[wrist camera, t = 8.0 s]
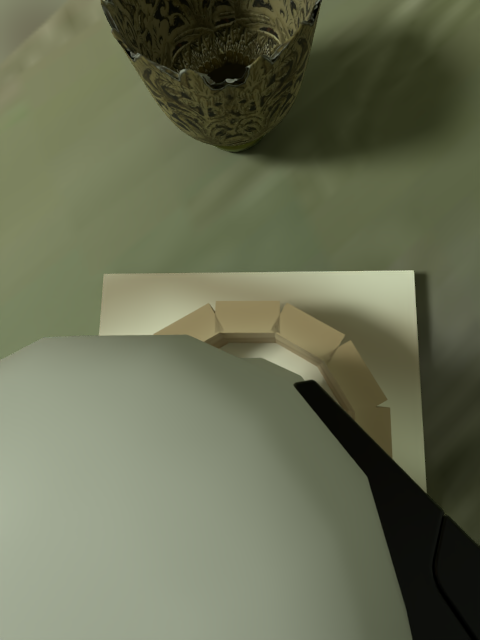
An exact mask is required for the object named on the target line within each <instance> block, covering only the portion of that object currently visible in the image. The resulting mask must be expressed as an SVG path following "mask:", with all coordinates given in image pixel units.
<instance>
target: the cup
mask: <svg viewBox="0 0 480 640" xmlns="http://www.w3.org/2000/svg"><path fill="white" fill-rule="evenodd" d="M321 2H322V0H105V1H103V0H101V5H102V8H103V11H104V13H105V16H106V18H107V20H108V22H109V24H110V26H111V28H112V29H111V32H112V34H113V36H114V37H115V39H116V40H117V41H118V42H119V44H120V45H121V47H122V48H123V50H124V51H125V53H126V54H127V56H128V58H129V59H130V61H131V63H132V64H133V66H134V67H135V69H136V71H137V72H138V74H139V76H140V77H141V79H142V80H143V82H144V84H145V85H146V87H147V88H148V90H149V92H150V93H151V95H152V96H153V98H154V99H155V101H156V102H157V104H158V105H159V106H160V108H161V109H162V110H163V112H164V113H165V114H166V115H167V117H168V118H169V119H170V120H171V121H172V122H173V123H174V124H175V125H176V126H177V127H178V128H179V129H180V130H182V131H183V132H184V133H186V134H187V135H189V136H191V137H192V138H194V139H196V140H198V141H201V142H203V143H207V144H211V145H214V146H215V147H217V148H219V149H221V150H224V151H230V152H237V151H243V150H246V149H249V148H251V147H252V146H254V145H255V144H257V143H258V142H259V141H260V140H261V139H262V138H263V136H264V135H265V134H267V133H268V132H270V131H271V130H272V129H273V128H274V127H276V126H277V125H278V124H279V123H280V121H281V120H282V119H283V118H284V117H285V115H286V114H287V113H288V111H289V110H290V108H291V106H292V105H293V103H294V101H295V99H296V96H297V94H298V92H299V89H300V87H301V84H302V81H303V77H304V74H305V70H306V66H307V63H308V59H309V54H310V50H311V46H312V41H313V37H314V33H315V28H316V24H317V19H318V14H319V10H320V5H321V4H320V3H321Z"/></svg>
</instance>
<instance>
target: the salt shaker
mask: <svg viewBox="0 0 480 640" xmlns="http://www.w3.org/2000/svg"><path fill="white" fill-rule="evenodd" d="M299 381H305V380H304V379H303V378H302V376H301V375H298V374H296V373H294V372H292V371H290V370H287V369H285V368H283V367H281V366H279V365H277V364H274V363H272V362H270V361H268V360H266V359H263V358H238V357H236V356H234V355H232V354H229V353H227V352H225V351H223V350H221V349H218V348H216V347H214V346H212V345H209V344H207V343H205V342H203V341H201V340H198V339H196V338H194V337H192V336H189V335H107V336H65V337H43V338H41V339H40V340H38V341H36V342H34V343H32V344H30V345H28V346H26V347H24V348H22V349H20V350H18V351H17V352H15V353H13V354H11V355H9V356H7V357H5V358H3V359H1V360H0V640H412V635H411V630H410V625H409V621H408V616H407V611H406V607H405V604H404V600H403V597H402V594H401V590H400V587H399V583H398V580H397V577H396V573H395V570H394V566H393V563H392V560H391V556H390V553H389V549H388V546H387V543H386V539H385V536H384V532H383V529H382V526H381V522H380V519H379V515H378V512H377V509H376V505H375V502H374V498H373V495H372V492H371V488H370V485H369V481H368V478H367V476H366V475H365V473H364V472H363V471H362V470H361V469H360V467H359V466H358V465H357V464H356V462H355V461H354V460H353V459H352V457H351V456H350V455H349V454H348V453H347V451H346V450H345V449H344V448H343V446H342V445H341V444H340V443H339V441H338V440H337V439H336V438H335V437H334V435H333V434H332V433H331V432H330V430H329V429H328V428H327V427H326V425H325V424H324V423H323V422H322V420H321V419H320V418H319V417H318V416H317V414H316V413H315V412H314V411H313V409H312V408H311V407H310V406H309V404H308V403H307V402H306V401H305V400H304V398H303V397H302V396H301V395H300V393H299V392H298V391H297V390H296V388H295V387H294V386H293V384H294V383H295V382H299Z"/></svg>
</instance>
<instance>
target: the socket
mask: <svg viewBox="0 0 480 640" xmlns="http://www.w3.org/2000/svg"><path fill="white" fill-rule="evenodd" d="M107 335H189V336H192V337H194V338H196V339H198V340H201V341H203V342H205V343H207V344H209V345H212V346H214V347H216V348H218V349H221V350H223V351H225V352H227V353H229V354H232V355H234V356H236V357H238V358H263V359H266V360H268V361H270V362H272V363H274V364H277V365H279V366H281V367H283V368H285V369H287V370H290V371H292V372H294V373H296V374H298V375H301V376H302V378H303V379H304V380H315V381H316V382H317V383H318V384H319V385H320V386H321V387H322V388H323V389H324V390H325V391H326V392H327V393H328V394H329V395H330V396H331V397H332V398H333V399H334V400H335V401H336V402H337V403H338V404H339V405H340V406H341V407H342V408H343V409H344V410H345V411H346V412H347V413H348V414H349V415H350V416H351V417H352V418H353V419H354V420H355V421H356V422H357V423H358V424H359V425H360V426H361V427H362V428H363V430H364V431H365V432H366V433H367V434H368V435H369V436H370V437H371V438H372V439H373V440H374V441H375V442H376V443H377V444H378V445H379V446H380V447H381V448H382V449H383V450H384V451H385V452H386V453H387V454H388V455H389V456H390V457H391V458H392V459H393V460H394V461H395V462H396V463H397V464H398V465H399V466H400V467H401V468H402V469H403V470H404V471H405V472H406V473H407V474H408V475H409V476H410V477H411V478H412V479H413V480H414V481H415V482H416V483H417V484H418V485H419V486H420V487H421V488H422V489H423V490H424V491H425V492H426V493H427V488H426V471H425V454H424V436H423V419H422V402H421V385H420V368H419V351H418V333H417V316H416V299H415V282H414V271H328V272H240V273H153V274H104V279H103V292H102V305H101V318H100V331H99V336H107Z"/></svg>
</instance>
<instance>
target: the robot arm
mask: <svg viewBox="0 0 480 640" xmlns="http://www.w3.org/2000/svg"><path fill="white" fill-rule="evenodd" d="M293 386H294V387H295V388H296V390H297V391H298V392H299V393H300V395H301V396H302V397H303V398H304V400H305V401H306V402H307V403H308V404H309V406H310V407H311V408H312V409H313V411H314V412H315V413H316V414H317V416H318V417H319V418H320V419H321V420H322V422H323V423H324V424H325V425H326V427H327V428H328V429H329V430H330V432H331V433H332V434H333V435H334V437H335V438H336V439H337V440H338V441H339V443H340V444H341V445H342V446H343V448H344V449H345V450H346V451H347V453H348V454H349V455H350V456H351V457H352V459H353V460H354V461H355V462H356V464H357V465H358V466H359V467H360V469H361V470H362V471H363V472H364V473H365V475H366V476H367V478H368V481H369V485H370V488H371V492H372V495H373V498H374V502H375V505H376V509H377V512H378V515H379V519H380V522H381V526H382V529H383V532H384V536H385V539H386V543H387V546H388V549H389V553H390V556H391V560H392V563H393V566H394V570H395V573H396V577H397V580H398V583H399V587H400V590H401V594H402V597H403V600H404V604H405V607H406V611H407V616H408V621H409V625H410V630H411V635H412V640H480V547H479V546H478V545H477V544H476V543H475V542H474V541H473V540H472V539H471V538H470V537H469V536H468V535H467V534H466V533H465V532H464V531H463V530H462V529H461V528H460V527H459V526H458V525H457V524H456V523H455V522H454V521H453V520H452V519H451V518H450V517H449V516H448V515H445V516H444V511H443V510H442V509H441V508H440V507H439V506H438V505H437V504H436V503H435V502H434V501H433V500H432V499H431V498H430V497H429V496H428V494H427V493H426V492H425V491H424V490H423V489H422V488H421V487H420V486H419V485H418V484H417V483H416V482H415V481H414V480H413V479H412V478H411V477H410V476H409V475H408V474H407V473H406V472H405V471H404V470H403V469H402V468H401V467H400V466H399V465H398V464H397V463H396V462H395V461H394V460H393V459H392V458H391V457H390V456H389V455H388V454H387V453H386V452H385V451H384V450H383V449H382V448H381V447H380V446H379V445H378V444H377V443H376V442H375V441H374V440H373V439H372V438H371V437H370V436H369V435H368V434H367V433H366V432H365V431H364V430H363V428H362V427H361V426H360V425H359V424H358V423H357V422H356V421H355V420H354V419H353V418H352V417H351V416H350V415H349V414H348V413H347V412H346V411H345V410H344V409H343V408H342V407H341V406H340V405H339V404H338V403H337V402H336V401H335V400H334V399H333V398H332V397H331V396H330V395H329V394H328V393H327V392H326V391H325V390H324V389H323V388H322V387H321V386H320V385H319V384H318V383H317V382H316V381H315V380H305V381H299V382H295V383H294V384H293Z"/></svg>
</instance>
